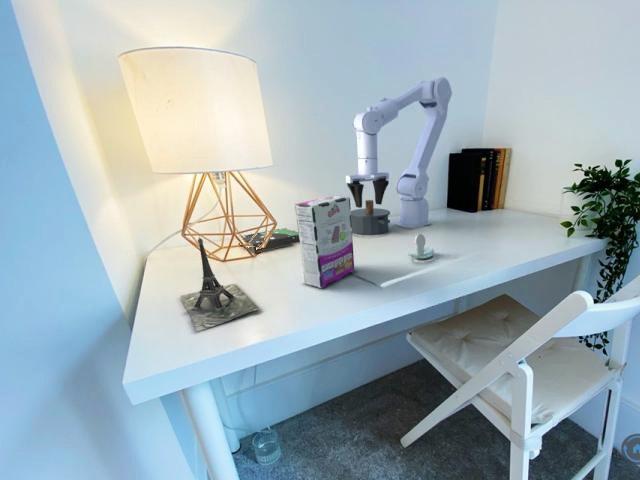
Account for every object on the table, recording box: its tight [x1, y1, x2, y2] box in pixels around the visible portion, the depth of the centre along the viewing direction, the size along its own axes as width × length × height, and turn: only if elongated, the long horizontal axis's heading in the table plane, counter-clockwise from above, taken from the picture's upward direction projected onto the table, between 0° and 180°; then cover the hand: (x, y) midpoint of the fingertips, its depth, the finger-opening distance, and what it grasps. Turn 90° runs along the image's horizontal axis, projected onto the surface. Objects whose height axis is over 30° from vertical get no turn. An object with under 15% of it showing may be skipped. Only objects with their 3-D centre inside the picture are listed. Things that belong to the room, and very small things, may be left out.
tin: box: [351, 215, 391, 236], centre depth 106 cm, size 12×17×6 cm
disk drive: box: [237, 227, 300, 253], centre depth 95 cm, size 10×3×15 cm
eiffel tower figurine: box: [180, 232, 260, 332], centre depth 58 cm, size 15×10×13 cm
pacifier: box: [406, 233, 438, 264], centre depth 81 cm, size 7×6×6 cm
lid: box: [351, 199, 391, 218], centre depth 104 cm, size 13×13×5 cm
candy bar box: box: [294, 195, 355, 289], centre depth 69 cm, size 11×5×16 cm, turn 148°
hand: (368, 205), depth 104 cm, fingers open, 7 cm apart
